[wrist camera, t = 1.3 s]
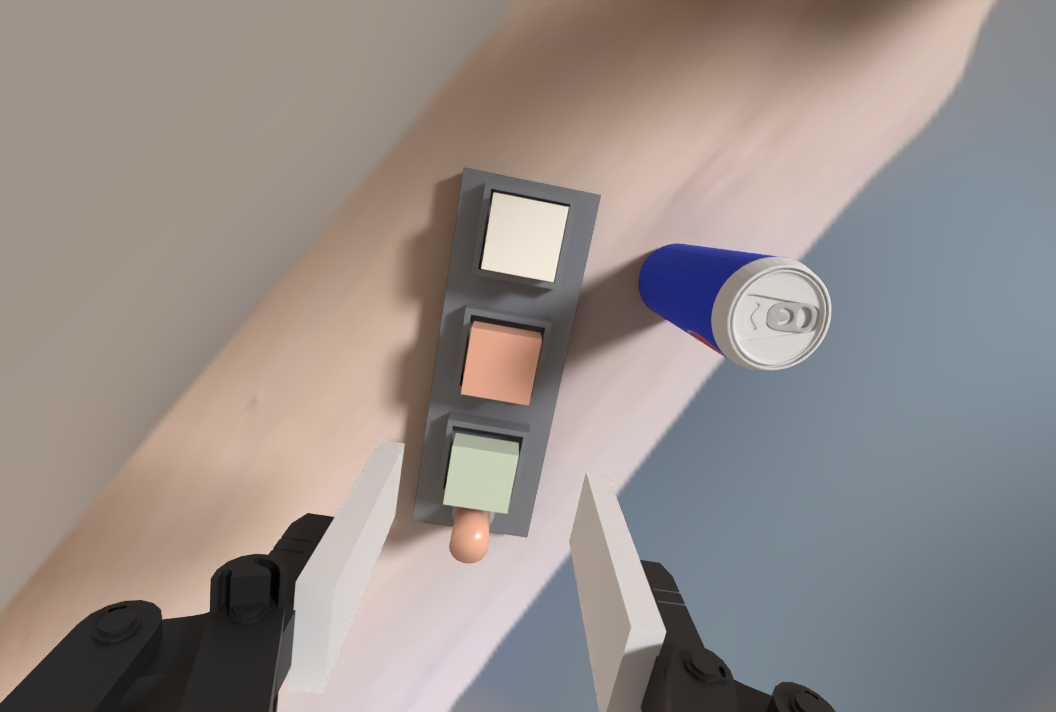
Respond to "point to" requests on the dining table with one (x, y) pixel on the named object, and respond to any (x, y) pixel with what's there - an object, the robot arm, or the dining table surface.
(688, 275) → the beverage can
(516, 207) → the cream button
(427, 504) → the console
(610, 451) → the dining table surface
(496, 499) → the sage button
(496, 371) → the terracotta button
